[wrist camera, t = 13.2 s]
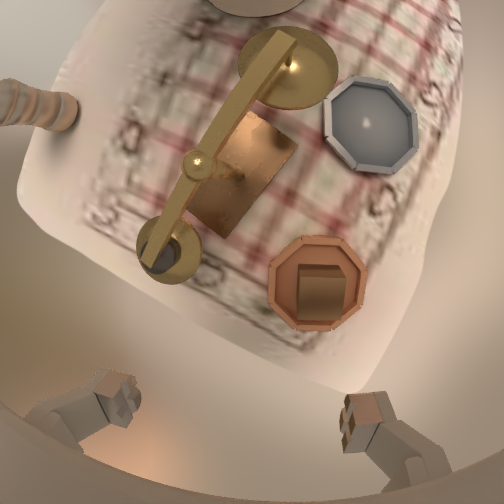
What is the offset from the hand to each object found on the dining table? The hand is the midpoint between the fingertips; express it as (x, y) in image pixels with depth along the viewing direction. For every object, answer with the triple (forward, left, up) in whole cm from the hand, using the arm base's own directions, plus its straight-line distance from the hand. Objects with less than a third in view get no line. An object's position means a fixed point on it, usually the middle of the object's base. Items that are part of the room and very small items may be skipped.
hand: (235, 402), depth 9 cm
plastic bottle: (-21, -32, -26) cm, 46 cm away
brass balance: (-9, -4, -26) cm, 27 cm away
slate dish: (-16, +12, -26) cm, 32 cm away
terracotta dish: (+4, +6, -26) cm, 27 cm away
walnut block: (+4, +6, -25) cm, 26 cm away
